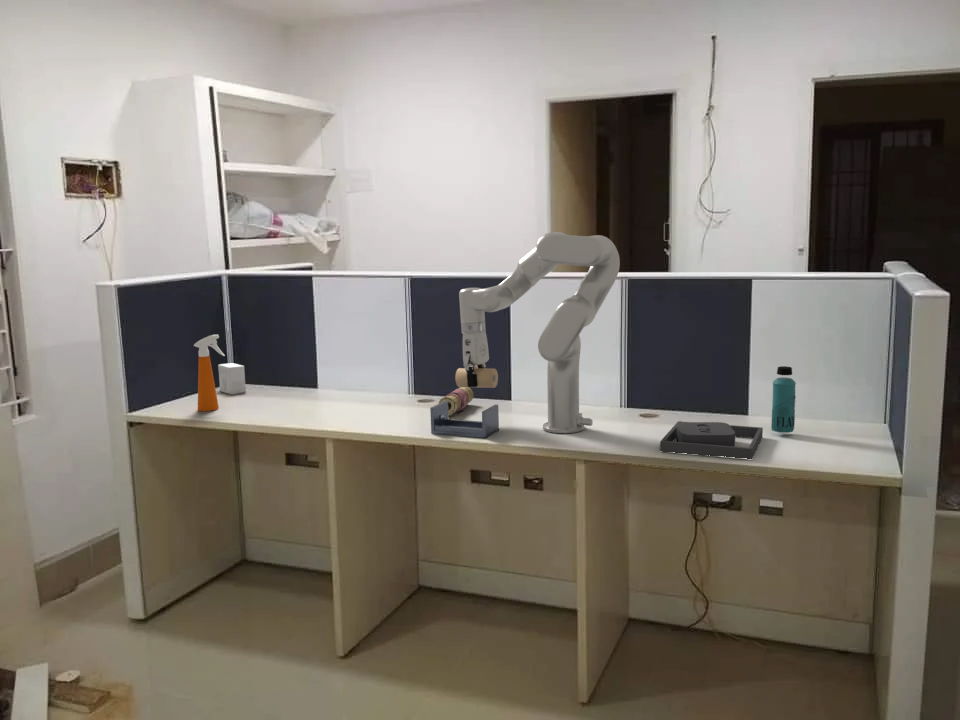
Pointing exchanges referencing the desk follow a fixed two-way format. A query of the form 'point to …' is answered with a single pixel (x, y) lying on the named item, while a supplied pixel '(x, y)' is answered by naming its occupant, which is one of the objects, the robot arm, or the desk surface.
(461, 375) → the roll
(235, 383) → the skincare box
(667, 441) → the speaker tray
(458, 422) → the holder
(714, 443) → the streaming box
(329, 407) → the desk surface
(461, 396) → the scroll
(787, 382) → the beverage bottle
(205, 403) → the spray bottle
